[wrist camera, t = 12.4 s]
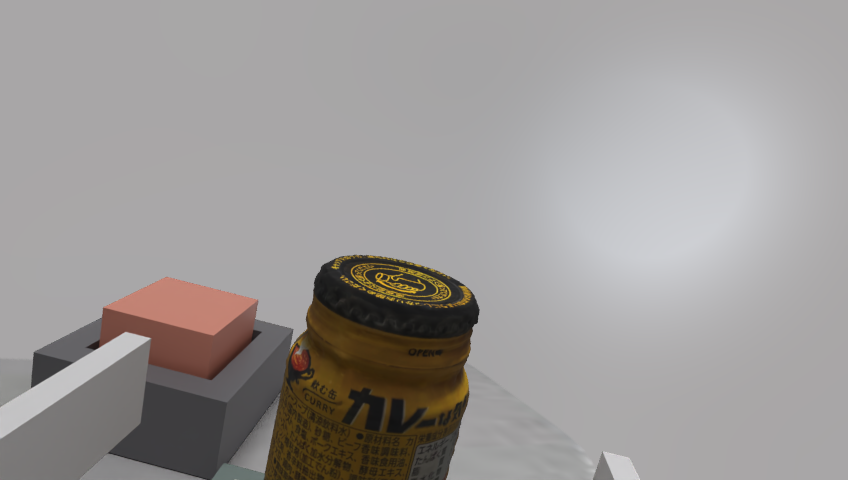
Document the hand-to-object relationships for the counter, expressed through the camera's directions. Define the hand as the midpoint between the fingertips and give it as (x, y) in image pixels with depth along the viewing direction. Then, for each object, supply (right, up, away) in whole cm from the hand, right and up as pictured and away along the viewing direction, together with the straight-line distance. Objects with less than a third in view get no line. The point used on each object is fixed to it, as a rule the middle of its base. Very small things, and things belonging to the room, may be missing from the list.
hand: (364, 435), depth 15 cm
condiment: (-1, -7, +4) cm, 9 cm away
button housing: (-12, -3, +14) cm, 19 cm away
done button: (-11, -1, +13) cm, 17 cm away
